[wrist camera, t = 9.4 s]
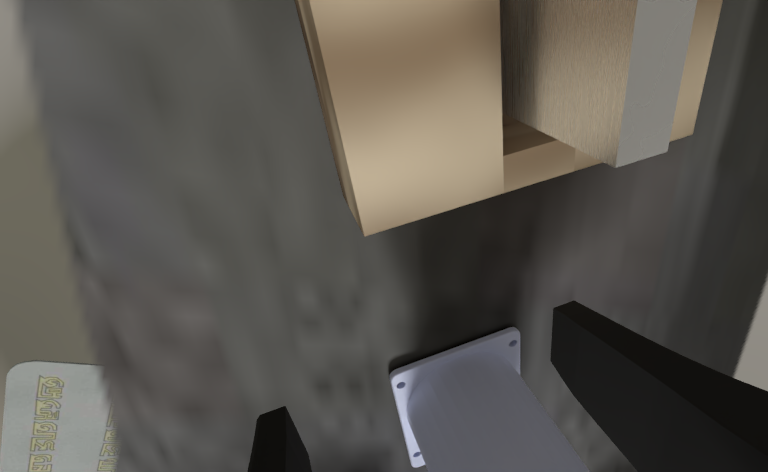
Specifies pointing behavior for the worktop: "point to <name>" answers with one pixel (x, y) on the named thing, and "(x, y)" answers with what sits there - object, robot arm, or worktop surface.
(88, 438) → the white patterned panel
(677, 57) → the silver rectangular block
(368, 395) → the worktop surface
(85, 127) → the worktop surface
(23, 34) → the worktop surface
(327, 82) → the slotted tan block
